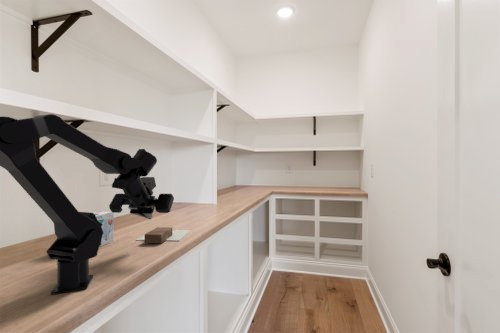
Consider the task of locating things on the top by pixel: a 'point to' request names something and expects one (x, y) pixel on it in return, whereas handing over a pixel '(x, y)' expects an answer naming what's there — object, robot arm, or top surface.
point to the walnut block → (158, 235)
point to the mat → (176, 235)
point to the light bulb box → (106, 226)
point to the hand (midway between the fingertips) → (150, 218)
